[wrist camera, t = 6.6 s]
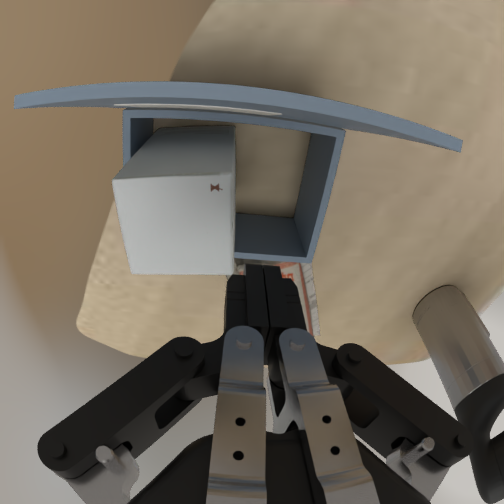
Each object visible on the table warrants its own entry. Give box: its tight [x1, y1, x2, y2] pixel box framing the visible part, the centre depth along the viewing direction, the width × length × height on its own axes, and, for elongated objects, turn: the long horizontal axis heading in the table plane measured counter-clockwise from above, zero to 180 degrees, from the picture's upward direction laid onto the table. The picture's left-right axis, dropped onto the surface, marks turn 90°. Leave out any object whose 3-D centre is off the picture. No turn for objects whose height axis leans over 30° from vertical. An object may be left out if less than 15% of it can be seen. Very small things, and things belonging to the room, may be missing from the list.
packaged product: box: [226, 258, 320, 337], centre depth 38 cm, size 18×5×10 cm
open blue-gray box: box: [123, 108, 346, 263], centre depth 26 cm, size 16×12×7 cm
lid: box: [14, 81, 463, 153], centre depth 14 cm, size 16×12×1 cm
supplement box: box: [112, 126, 236, 275], centre depth 23 cm, size 7×7×13 cm
